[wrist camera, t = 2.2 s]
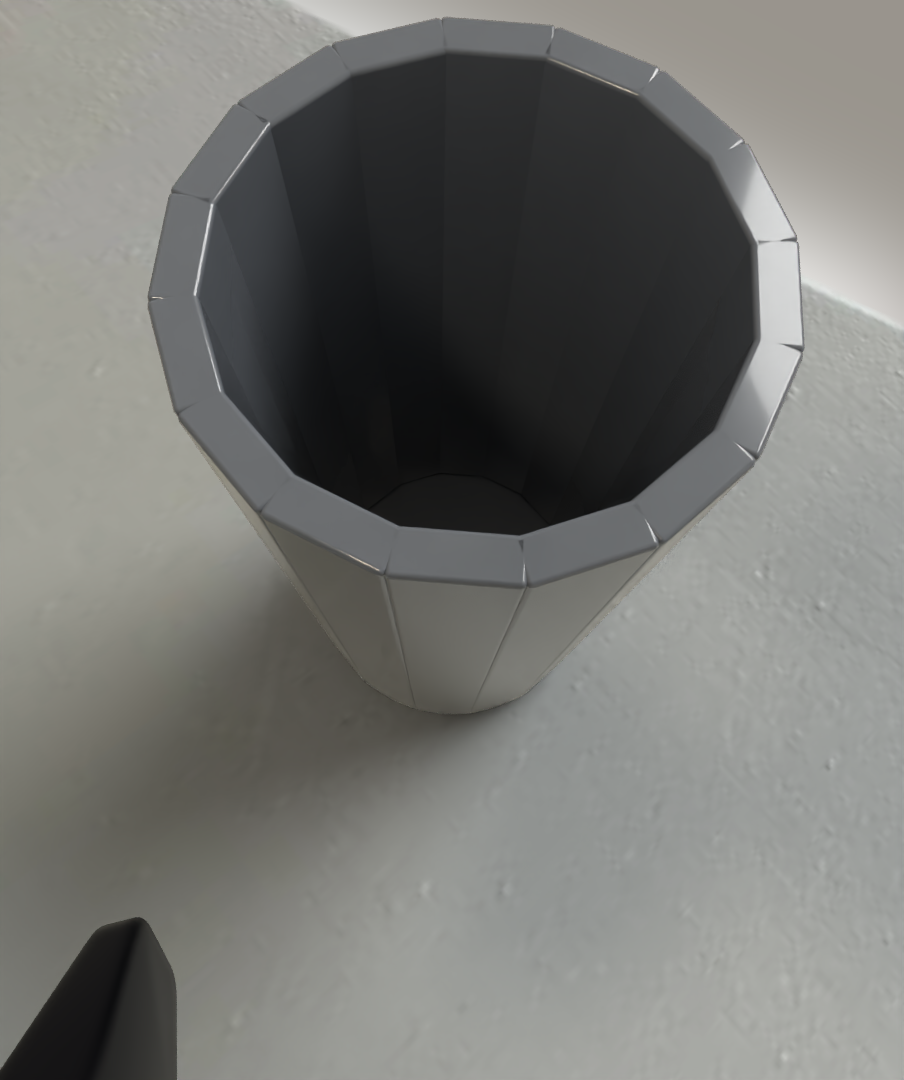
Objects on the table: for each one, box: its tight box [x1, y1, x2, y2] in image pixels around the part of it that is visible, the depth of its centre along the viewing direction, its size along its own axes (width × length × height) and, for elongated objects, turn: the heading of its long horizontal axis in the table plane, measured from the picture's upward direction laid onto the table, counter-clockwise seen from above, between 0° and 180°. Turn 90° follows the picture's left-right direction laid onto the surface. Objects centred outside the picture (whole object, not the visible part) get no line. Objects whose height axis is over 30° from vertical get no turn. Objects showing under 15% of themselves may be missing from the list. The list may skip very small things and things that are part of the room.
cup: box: [148, 17, 804, 714], centre depth 14 cm, size 6×6×13 cm
